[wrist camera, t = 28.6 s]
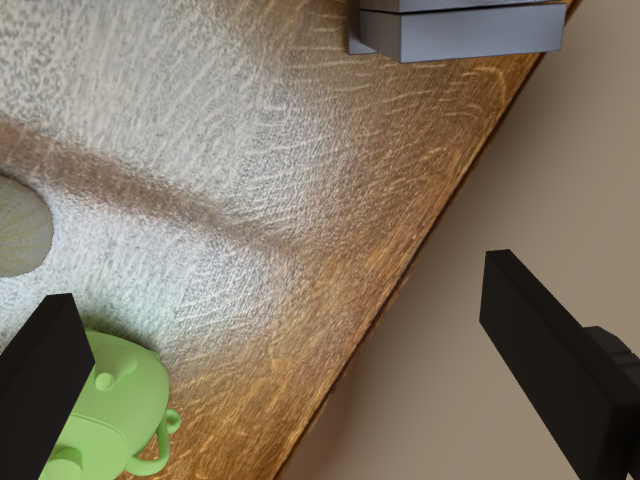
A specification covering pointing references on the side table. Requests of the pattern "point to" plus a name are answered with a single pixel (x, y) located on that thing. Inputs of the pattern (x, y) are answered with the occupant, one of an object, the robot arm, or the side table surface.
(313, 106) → the side table surface
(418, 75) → the side table surface
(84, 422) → the teapot
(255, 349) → the side table surface
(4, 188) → the sea urchin shell
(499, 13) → the grey rack
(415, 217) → the side table surface
